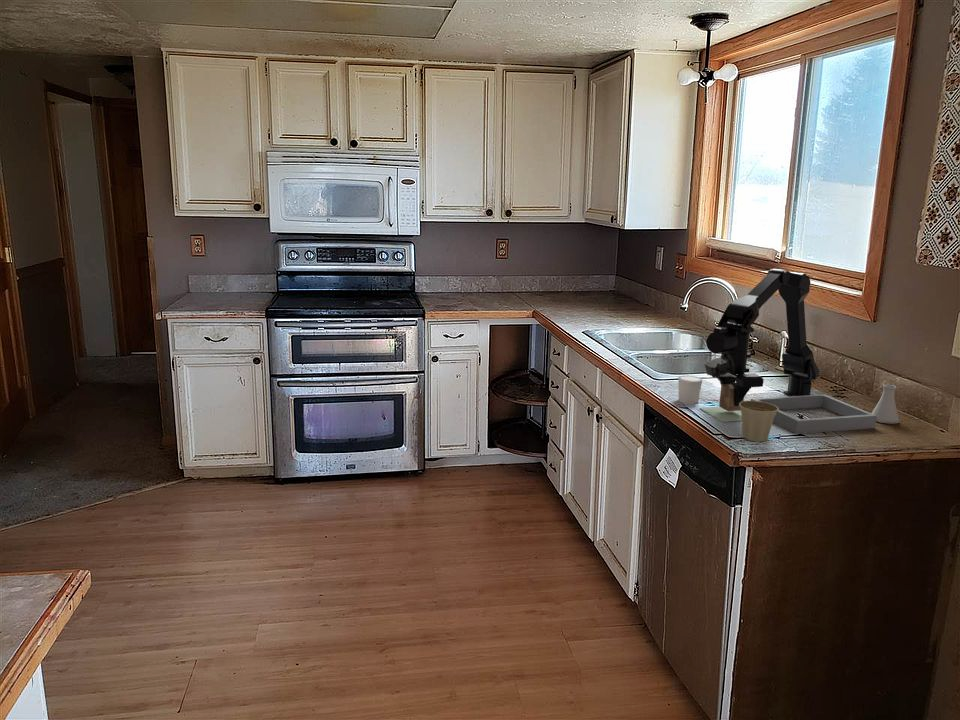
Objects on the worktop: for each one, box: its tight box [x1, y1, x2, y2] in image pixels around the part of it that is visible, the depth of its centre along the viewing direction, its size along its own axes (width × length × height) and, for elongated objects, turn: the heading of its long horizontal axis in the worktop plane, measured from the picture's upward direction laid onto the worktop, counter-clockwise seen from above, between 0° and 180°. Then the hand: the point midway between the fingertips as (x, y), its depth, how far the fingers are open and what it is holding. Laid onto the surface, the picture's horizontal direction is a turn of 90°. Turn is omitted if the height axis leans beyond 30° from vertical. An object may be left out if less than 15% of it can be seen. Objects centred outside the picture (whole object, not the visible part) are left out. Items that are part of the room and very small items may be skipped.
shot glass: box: [677, 375, 703, 405], centre depth 218 cm, size 7×7×7 cm
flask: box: [871, 384, 900, 425], centre depth 204 cm, size 7×7×10 cm
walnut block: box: [718, 384, 745, 411], centre depth 206 cm, size 4×4×6 cm
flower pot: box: [739, 400, 779, 443], centre depth 187 cm, size 9×9×9 cm
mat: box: [699, 406, 742, 423], centre depth 207 cm, size 12×12×1 cm
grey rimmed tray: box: [750, 393, 877, 435], centre depth 204 cm, size 20×24×4 cm
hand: (731, 403), depth 206 cm, fingers closed on walnut block, 4 cm apart
